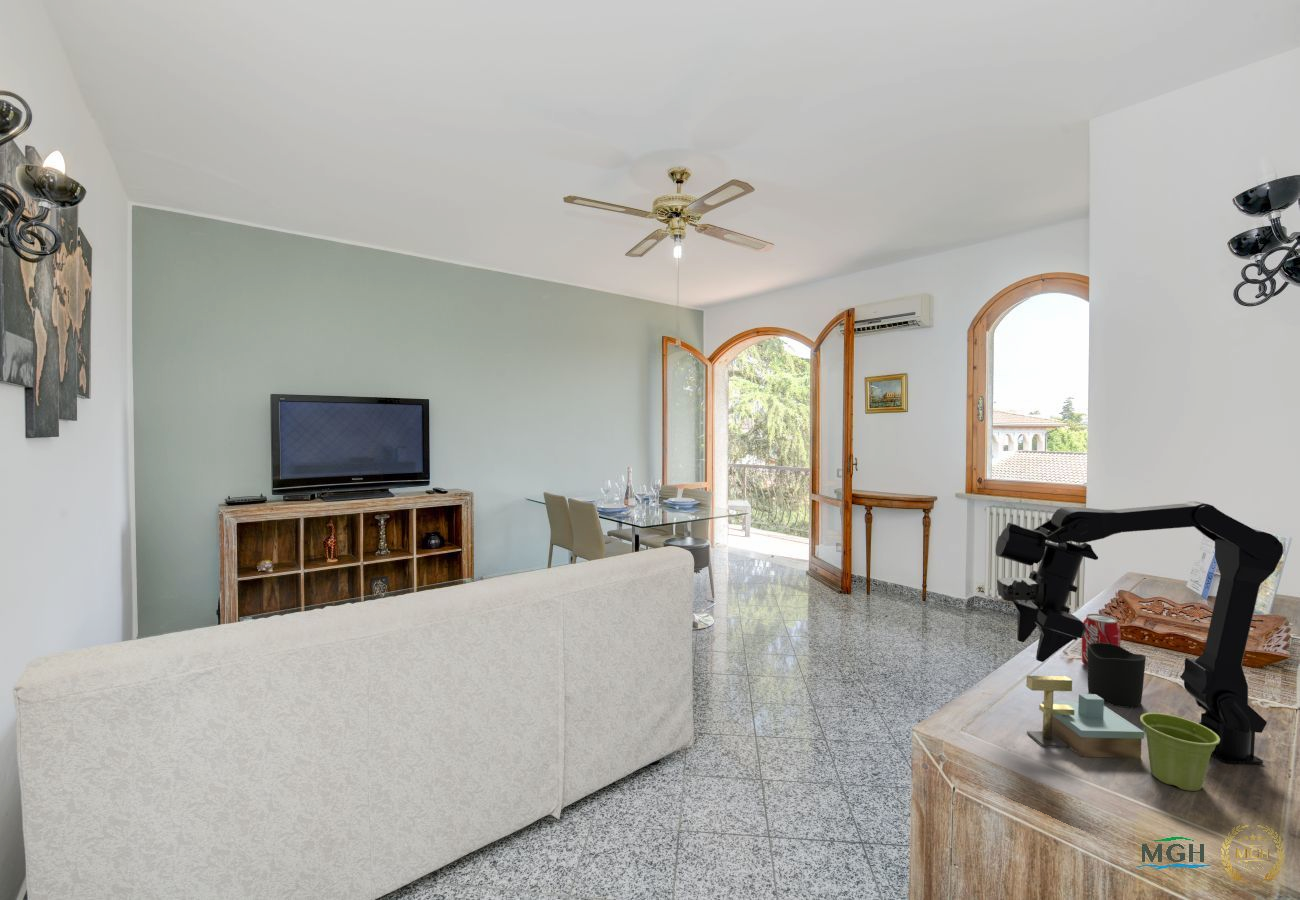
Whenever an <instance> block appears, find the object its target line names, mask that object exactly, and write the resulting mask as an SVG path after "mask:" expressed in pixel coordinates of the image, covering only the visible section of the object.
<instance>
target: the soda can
mask: <svg viewBox="0 0 1300 900" xmlns="http://www.w3.org/2000/svg"><path fill="white" fill-rule="evenodd" d="M1082 622H1083V624H1084V625H1085V627H1086V630H1085V633H1084V636H1083V638H1081V662H1082V663H1083V665H1085V666H1086V668H1088V653H1087V646H1088V644H1091V643H1109V644H1114V645H1117V646H1120V647H1121V637H1122V636H1121V635H1122V633H1121V632H1122V631H1121V627H1120V624H1118V623H1119V621H1118V619H1117V618H1115V617H1112V616H1110V615H1105V614H1099V613H1088V614H1086V618H1085V619H1084V620H1083V621H1082Z"/></svg>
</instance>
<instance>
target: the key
mask: <svg viewBox="0 0 1300 900" xmlns="http://www.w3.org/2000/svg"><path fill="white" fill-rule="evenodd" d="M1025 687H1026V688H1028V689H1029V690H1030V691H1037V692H1039V691H1040V692H1042V691H1043V701H1044V704H1042V703H1039V705H1038V706H1039V707H1038V710H1039V711H1040V712H1042V731H1043V738H1045V739H1049V740H1051V739H1052V721H1053V715H1074V709H1073V708H1071V707H1070V706H1069V705H1058V704H1053V701H1054V693H1055V692H1073V679H1071V678H1069V677H1068V676H1067V675H1066V676H1065V675H1063V676H1061V675H1060V676H1058V675H1026V684H1025Z"/></svg>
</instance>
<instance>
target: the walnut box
mask: <svg viewBox="0 0 1300 900" xmlns="http://www.w3.org/2000/svg"><path fill="white" fill-rule="evenodd" d="M1027 733H1028V734H1027ZM1026 734H1027V735H1028V736H1030V737H1031V738H1032V739H1033V740H1034V741H1036V743H1037V744H1038V745H1040V746H1041V747H1043V748H1044V747H1045V748H1047V747H1048V748H1050V747H1051V748H1070V747H1071V748H1072V749H1073V750H1072V749H1071V748H1070V749H1071V750H1072V751H1074V752H1075V751H1076V752H1077V753H1078V754H1079V756H1080V757H1081V756H1084V757H1083V758H1085V757H1088V758H1091V757H1092V758H1123V759H1124V758H1127V759H1128V758H1130V759H1131V758H1132V759H1133V758H1134V759H1141V758H1142V741H1143V740H1142V739H1134V738H1090V737H1080V736H1079V735H1078V734H1076V733H1075V732H1074V731H1072V730H1071V729H1070V728H1069V727H1067V726H1066V725H1065V724H1063V723H1062V722H1061V721H1059V720H1058V719H1057V718H1056V717H1054V716H1053V721H1052V739H1051V740H1049V739H1045V738H1043V730H1042V731H1040V730H1039V731H1035V730H1033V731H1032V730H1030V731H1029V730H1026ZM1069 746H1070V747H1069ZM1076 752H1075V753H1076ZM1077 753H1076V754H1077ZM1078 754H1077V755H1078Z"/></svg>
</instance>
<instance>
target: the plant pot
mask: <svg viewBox="0 0 1300 900" xmlns="http://www.w3.org/2000/svg"><path fill="white" fill-rule="evenodd" d="M1139 721H1140V723H1141V724H1142V725H1143V731H1144V733H1145V735H1146V736H1145V737H1146V743H1147V750H1148V751H1147V752H1148V760H1149V769H1150V772H1151V774H1152V775H1153V777H1155V778H1156V779H1158V780H1159V781H1160V782H1161V783H1162V782H1163V783H1164V784H1166V785H1173V786H1176V787H1178V788H1179V789H1181V790H1184V791H1190V792H1191V791H1193V792H1196V791H1200V790H1201V789H1202V788H1203V784H1204V781H1205V776H1206V774H1207V773H1206V772H1207V770H1208V765H1209V762H1210V760H1211V756H1212V755H1211V753H1212V752H1213V751H1214V749H1215V746H1216V745H1217V744H1219V742H1220V738H1219V736H1218V735H1217V734H1216V733H1215V732H1213V731H1212V730H1210V729H1208V728H1207V727H1205V726H1203V725H1201V724H1199V723H1198V722H1195V721H1193V720H1189V719H1187V718H1183V717H1181V716H1177V715H1174V714H1173V715H1172V714H1167V713H1162V712H1161V713H1160V712H1145V713H1142V714H1141V715H1140V716H1139Z"/></svg>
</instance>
